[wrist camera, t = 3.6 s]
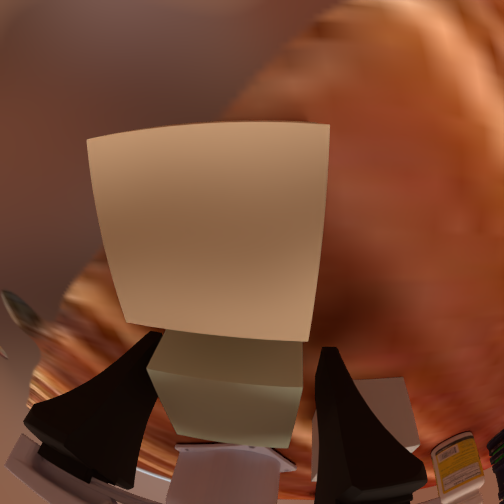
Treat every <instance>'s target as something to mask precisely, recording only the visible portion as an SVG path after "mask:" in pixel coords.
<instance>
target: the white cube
mask: <svg viewBox="0 0 504 504" xmlns="http://www.w3.org/2000/svg"><path fill="white" fill-rule="evenodd" d="M353 382H354V384H355V385H356V387H357V389H358V390H359V392H360V394H361V395H362V397H363V399H364V400H365V402H366V403H367V405H368V406H369V408H370V409H371V410H372V412H373V413H374V414H375V416H376V417H377V418H378V420H379V421H380V422H381V423H382V424H383V426H384V427H385V428H386V429H387V430H388V431H389V432H390V433H391V434H392V435H393V436H394V437H395V439H396V440H397V441H398V442H399V443H401V444H402V445H403V446H404V447H405V448H406V449H407V450H408V451H409V452H411V453H412V452H413V451H414V450H415V449H416V448H417V447H418V446H419V445H420V441H419V436H418V432H417V427H416V423H415V419H414V415H413V411H412V407H411V403H410V400H409V396H408V392H407V389H406V385H405V382H404V378H403V377H396V378H382V379H364V380H353ZM318 455H319V434H318V423H317V412H316V410H315V413H314V416H313V419H312V474H311V481H317V472H318Z"/></svg>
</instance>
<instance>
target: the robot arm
mask: <svg viewBox="0 0 504 504" xmlns="http://www.w3.org/2000/svg"><path fill="white" fill-rule="evenodd" d="M162 336H163V335H162V333H160V332H154V331H150V332H149V333H148V334H146V335H145V336H144V337H143V338H142V339H141V340H140V341H138V342H137V343H136V344H135V345H134V346H133V347H132V348H131V349H130V350H128V351H127V352H126V353H125V354H124V355H123V356H121V357H120V358H119V359H118V360H117V361H116V362H114V363H113V364H112V365H110V366H109V367H108V368H107V369H105V370H104V371H103V372H101V373H100V374H98V375H97V376H95V377H94V378H92V379H91V380H89V381H88V382H86V383H84V384H82V385H80V386H79V387H77V388H75V389H73V390H71V391H69V392H67V393H65V394H62V395H60V396H57V397H55V398H52V399H49V400H46V401H43V402H39V403H36V404H34V405H33V406H32V408H31V410H30V411H29V413H28V415H27V416H26V418H25V419H24V421H23V422H24V425H25V426H26V427H27V428H28V429H29V430H30V431H31V432H32V433H33V434H34V435H35V436H36V437H37V438H38V439H39V440H40V441H42V442H43V443H42V445H41V446H40V445H38V444H37V443H36V442H34V441H33V440H31V439H30V438H28V437H27V436H26V435H24V434H21V435H20V437H19V439H18V441H17V443H16V444H15V446H14V448H13V450H12V452H11V454H10V456H9V457H8V459H7V461H6V463H5V467H6V468H7V469H8V470H9V471H10V472H11V473H12V474H14V475H15V476H16V477H17V478H18V479H20V480H21V481H22V482H23V483H24V484H25V485H27V486H28V487H29V488H30V489H32V490H33V491H34V492H35V493H36V494H38V495H39V496H40V497H42V498H43V499H44V500H46V501H47V502H48V503H50V504H117V502H116V501H118V502H120V503H122V504H162V503H158V502H155V501H152V500H149V499H146V498H143V497H140V496H137V495H134V494H132V493H129V492H126V491H124V490H121V489H119V488H116V487H114V486H115V485H117V486H119V487H121V488H124V489H127V490H129V489H131V488H133V487H134V480H135V473H136V466H137V461H138V456H139V451H140V447H141V443H142V439H143V435H144V431H145V428H146V424H147V421H148V419H149V416H150V414H151V411H152V409H153V407H154V405H155V402H156V400H157V398H158V394H157V392H156V390H155V388H154V385H153V383H152V381H151V378H150V376H149V374H148V371H147V369H146V368H147V366H148V364H149V362H150V360H151V358H152V356H153V354H154V352H155V350H156V348H157V346H158V344H159V342H160V340H161V338H162ZM315 401H316V412H317V423H318V434H319V455H318V472H317V483H316V493H315V501H314V504H410V501H412V500H413V495H412V493H413V492H414V491H416V490H418V489H420V488H421V487H423V486H424V485H425V484H426V483H427V481H428V480H427V474H426V470H425V467H424V464H423V462H422V461H421V460H419V459H418V458H417V457H415V456H414V455H413V454H412V453H411V452H409V451H408V450H407V449H406V448H405V447H404V446H403V445H402V444H401V443H399V442H398V441H397V440H396V439H395V437H394V436H393V435H392V434H391V433H390V432H389V431H388V430H387V429H386V428H385V427H384V426H383V424H382V423H381V422H380V421H379V420H378V418H377V417H376V416H375V414H374V413H373V412H372V410H371V409H370V408H369V406H368V405H367V403H366V402H365V400H364V399H363V397H362V395H361V394H360V392H359V390H358V389H357V387H356V385H355V384H354V382H353V380H352V378H351V376H350V374H349V372H348V370H347V368H346V366H345V364H344V362H343V360H342V358H341V356H340V353H339V351H338V349H337V348H336V347H322V350H321V354H320V359H319V363H318V367H317V371H316V375H315ZM175 449H176V450H178V451H179V452H180V453H179V457H178V460H177V463H176V466H175V470H174V473H173V476H172V480H171V483H170V486H169V490H168V493H167V497H166V504H277V498H278V488H279V478H280V472H287V471H295V470H296V469H297V467H296V466H295V465H294V464H292V463H291V462H289V461H288V460H287V459H285V458H284V457H282V456H281V455H279V454H278V453H277V452H275V451H274V450H273V449H271V448H270V447H258V446H247V445H238V444H230V443H223V444H196V445H179V444H177V445H175ZM108 483H110V484H112V485H114V486H111V485H109V484H108ZM418 504H441V498H440V497H438V498H435V499H432V500H428V501H425V502H422V503H418Z"/></svg>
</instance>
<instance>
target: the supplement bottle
mask: <svg viewBox="0 0 504 504" xmlns="http://www.w3.org/2000/svg"><path fill="white" fill-rule="evenodd" d="M431 457H432V463H433V467H434V472H435V478H436V483H437V489H438V495H439V497H440V498H441V503H442V504H481V503H483V499H482V495H481V493H479V488H480V487H481V486H482V485H483V484H484V481H485V478H484V473H483V469H482V465H481V461H480V457H479V454H478V450H477V447H476V444H475V440H474V437H473V435H472V433H471V432H464V433H461V434H458V435H456V436H454V437H452V438H450V439H448V440H446V441H444V442H442V443H441V444H439V445H438V446H437V447H436V448H435V449H434V450H433V451H432V453H431Z"/></svg>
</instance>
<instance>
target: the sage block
mask: <svg viewBox="0 0 504 504" xmlns="http://www.w3.org/2000/svg"><path fill="white" fill-rule="evenodd" d="M146 369H147V371H148V374H149V376H150V378H151V381H152V383H153V385H154V388H155V390H156V392H157V394H158V397H159V399H160V401H161V403H162V405H163V407H164V409H165V411H166V413H167V415H168V417H169V419H170V421H171V423H172V425H173V427H174V429H175V431H176V433H177V434H179V435H184V436H189V437H194V438H199V439H204V440H210V441H216V442H223V443H230V444H238V445H247V446H258V447H271V448H288V447H289V443H290V440H291V436H292V432H293V428H294V424H295V420H296V416H297V411H298V407H299V403H300V398H301V394H302V389H303V341H281V340H265V339H251V338H239V337H228V336H218V335H209V334H200V333H192V332H185V331H177V330H170V329H166V331H165V333H164V335H163V336H162V338H161V340H160V342H159V344H158V346H157V348H156V350H155V352H154V354H153V356H152V358H151V360H150V362H149V364H148V366H147V368H146Z"/></svg>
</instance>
